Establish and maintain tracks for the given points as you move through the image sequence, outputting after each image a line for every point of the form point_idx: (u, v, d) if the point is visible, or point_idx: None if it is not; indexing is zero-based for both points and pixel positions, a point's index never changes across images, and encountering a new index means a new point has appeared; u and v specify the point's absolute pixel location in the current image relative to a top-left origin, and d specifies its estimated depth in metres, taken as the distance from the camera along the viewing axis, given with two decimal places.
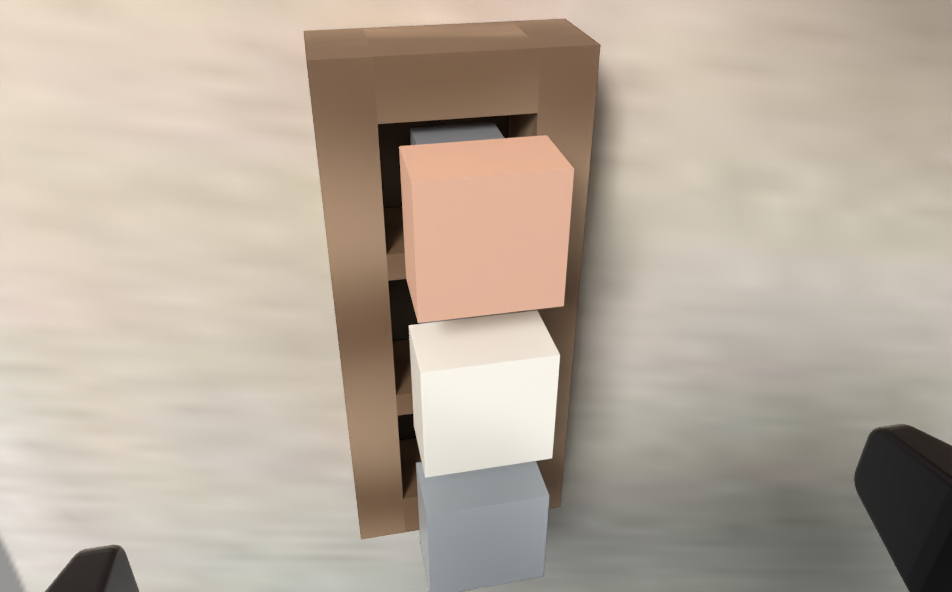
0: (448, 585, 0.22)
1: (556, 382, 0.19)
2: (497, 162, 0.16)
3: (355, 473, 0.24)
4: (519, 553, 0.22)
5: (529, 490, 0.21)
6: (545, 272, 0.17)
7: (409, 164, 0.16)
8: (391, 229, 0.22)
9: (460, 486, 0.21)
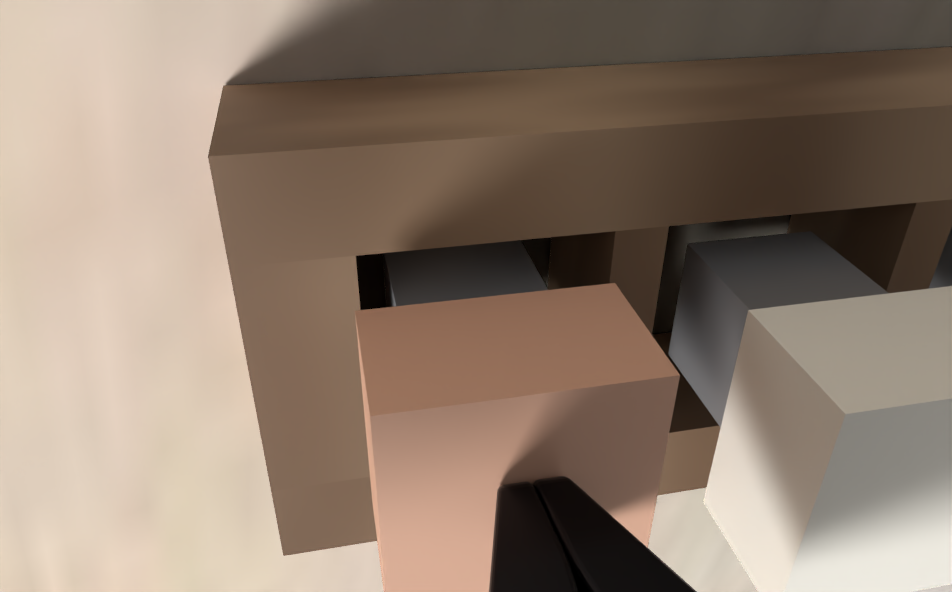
0: None
1: (915, 407, 0.08)
2: (373, 476, 0.09)
3: None
4: None
5: None
6: (592, 421, 0.09)
7: None
8: None
9: None
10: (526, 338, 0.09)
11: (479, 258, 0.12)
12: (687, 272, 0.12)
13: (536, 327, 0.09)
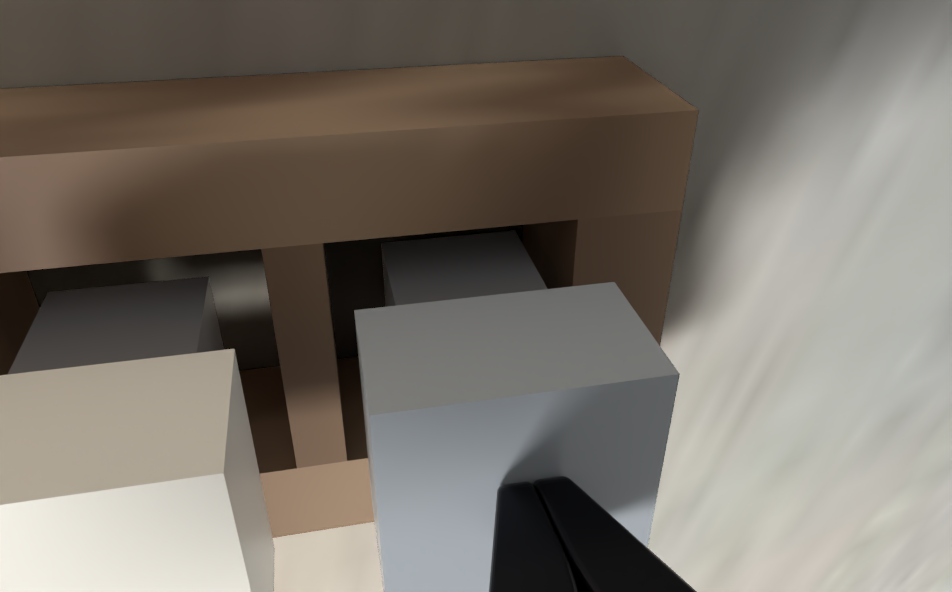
0: None
1: None
2: None
3: None
4: (568, 442, 0.09)
5: (369, 431, 0.08)
6: None
7: None
8: None
9: (374, 512, 0.10)
10: None
11: None
12: None
13: None
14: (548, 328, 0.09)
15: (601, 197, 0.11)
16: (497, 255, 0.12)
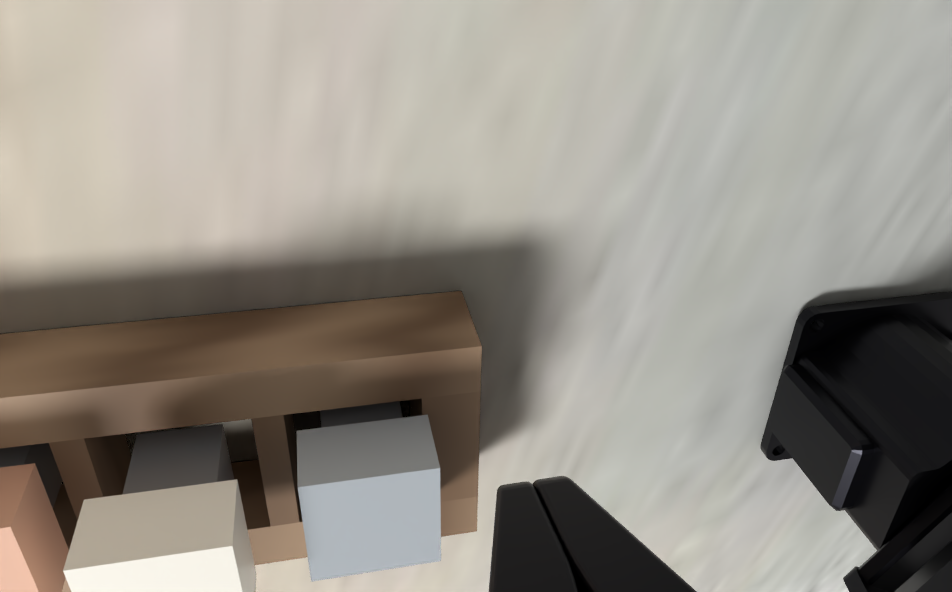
0: (426, 548, 0.20)
1: (105, 566, 0.16)
2: None
3: None
4: (391, 497, 0.19)
5: (299, 492, 0.19)
6: None
7: None
8: None
9: None
10: None
11: None
12: None
13: None
14: (387, 442, 0.19)
15: (433, 387, 0.20)
16: None
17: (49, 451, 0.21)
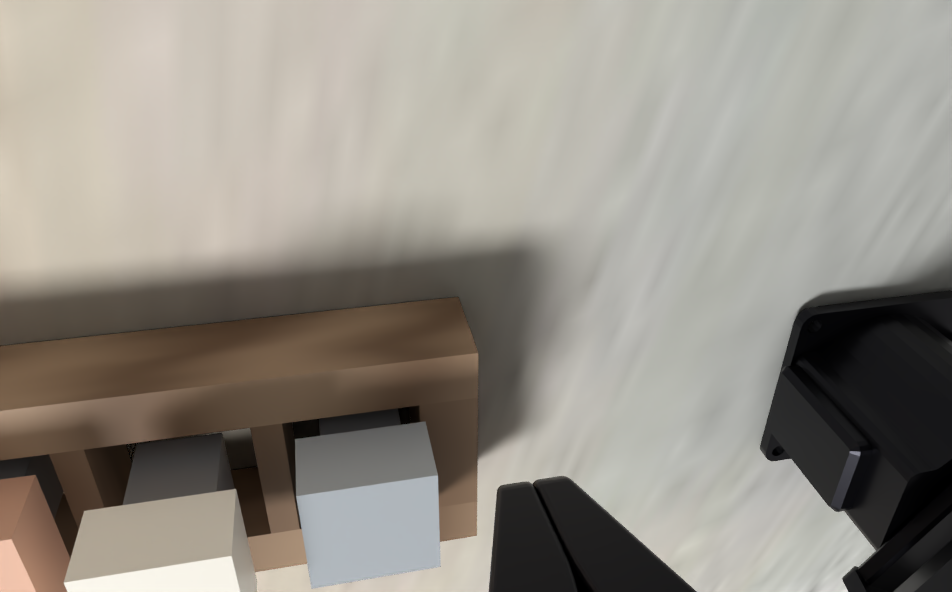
0: (426, 555, 0.20)
1: (105, 577, 0.16)
2: None
3: None
4: (389, 505, 0.19)
5: (298, 501, 0.19)
6: None
7: None
8: None
9: None
10: None
11: None
12: None
13: None
14: (385, 449, 0.20)
15: (431, 394, 0.20)
16: None
17: (50, 461, 0.21)
